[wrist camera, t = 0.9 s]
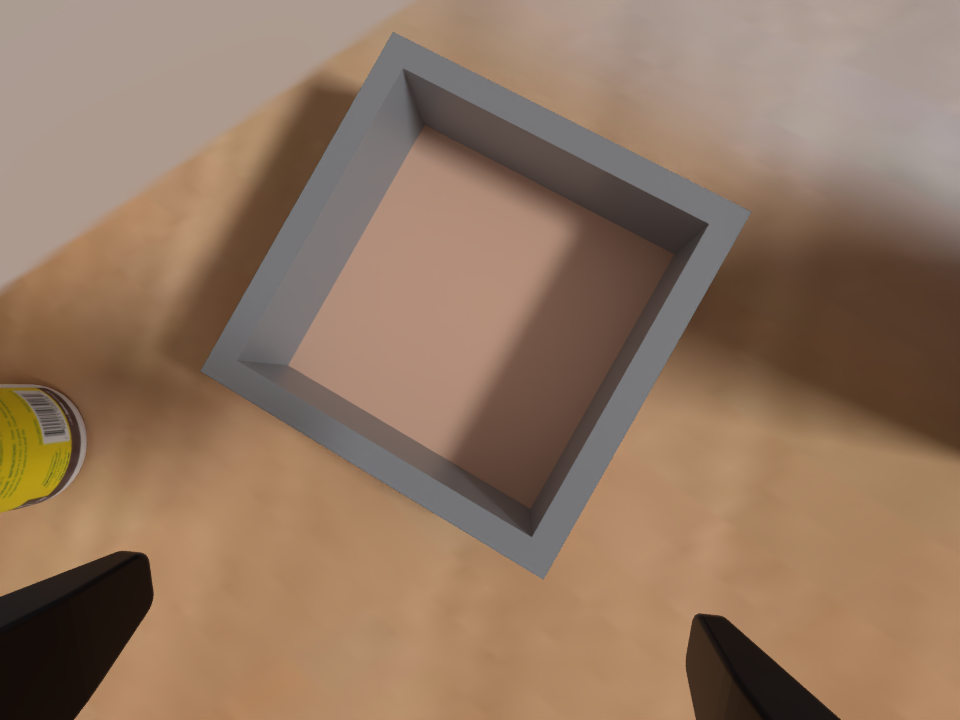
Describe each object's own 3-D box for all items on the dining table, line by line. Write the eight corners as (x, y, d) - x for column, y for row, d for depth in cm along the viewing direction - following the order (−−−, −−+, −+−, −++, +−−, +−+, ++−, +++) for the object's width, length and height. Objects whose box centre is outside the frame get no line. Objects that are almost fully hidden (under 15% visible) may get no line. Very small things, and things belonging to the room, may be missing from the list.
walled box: (539, 535, 22) (543, 579, 17) (269, 374, 23) (199, 371, 18) (700, 251, 22) (751, 211, 17) (420, 106, 23) (393, 31, 19)
